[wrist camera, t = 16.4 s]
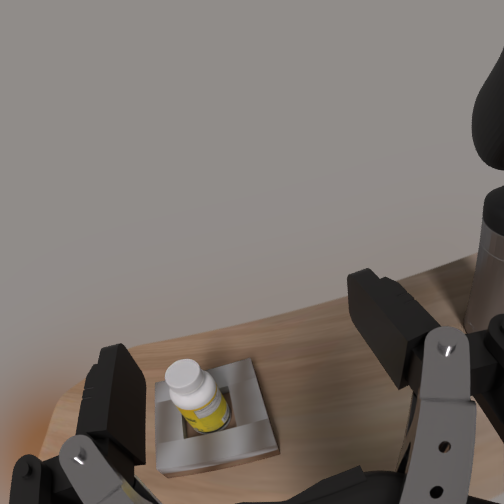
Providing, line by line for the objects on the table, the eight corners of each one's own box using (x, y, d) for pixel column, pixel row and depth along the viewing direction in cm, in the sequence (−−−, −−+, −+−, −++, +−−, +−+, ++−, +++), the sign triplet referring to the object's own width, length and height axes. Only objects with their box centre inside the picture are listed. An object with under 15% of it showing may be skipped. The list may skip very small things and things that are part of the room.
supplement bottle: (184, 414, 37) (152, 368, 32) (219, 394, 39) (194, 345, 34) (202, 443, 33) (168, 400, 28) (240, 421, 35) (215, 375, 30)
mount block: (255, 370, 43) (250, 357, 42) (280, 454, 31) (276, 444, 30) (163, 394, 42) (155, 382, 41) (167, 478, 30) (156, 469, 29)
